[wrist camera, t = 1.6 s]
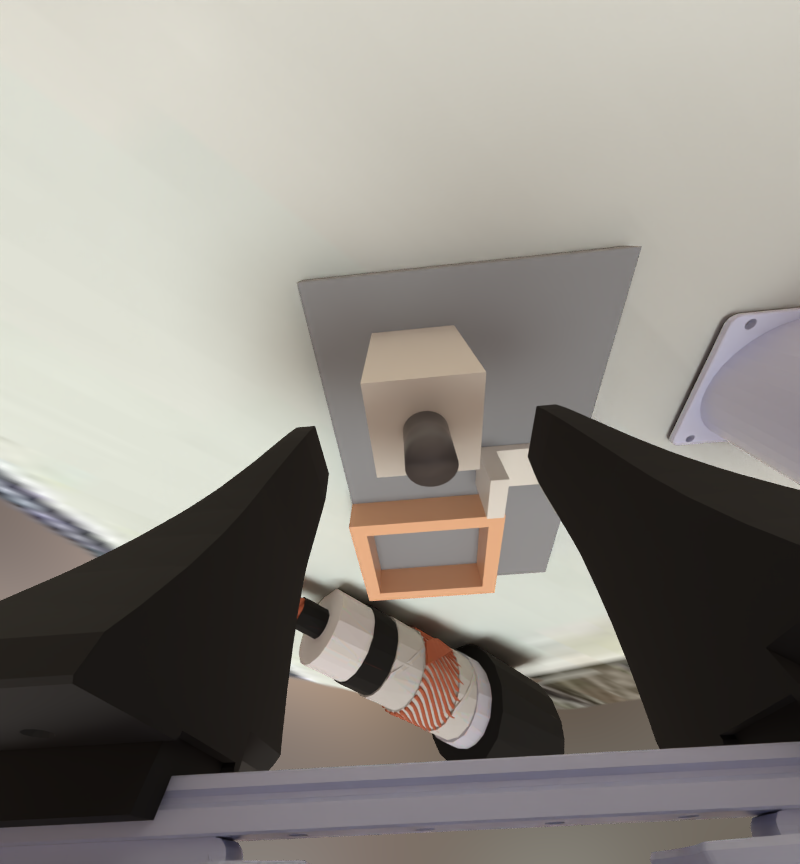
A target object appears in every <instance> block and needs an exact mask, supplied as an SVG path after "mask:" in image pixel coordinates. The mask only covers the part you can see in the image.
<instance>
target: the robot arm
mask: <svg viewBox="0 0 800 864" xmlns="http://www.w3.org/2000/svg"><path fill="white" fill-rule="evenodd" d="M748 321H749V322H748ZM747 322H748V323H747ZM746 323H747V324H746ZM669 440H670V442H672V443H673V444H675V445H687V444H699V443H711V442H723V441H729V442H730V443H732V444H733V445H735V446H737V447H738V448H740V449H742V450H743V451H745V452H747V453H748V454H750V455H752V456H753V457H755V458H756V459H758V460H760V461H761V462H763V463H765V464H766V465H768V466H770V467H771V468H773V469H774V470H776V471H778V472H779V473H781V474H783V475H784V476H786V477H788V478H789V479H791V480H793V481H794V482H796V483H797V484H799V485H800V308H790V309H780V310H769V311H759V312H749V313H739V314H735V315H733V316H731V317H730V318H729V319H728V320H727V321H726V322H725V323H724V325H723V327H722V329H721V331H720V334H719V336H718V338H717V340H716V342H715V344H714V346H713V348H712V350H711V352H710V354H709V356H708V358H707V360H706V363H705V365H704V367H703V369H702V371H701V373H700V375H699V377H698V379H697V381H696V383H695V385H694V387H693V390H692V392H691V394H690V396H689V398H688V400H687V402H686V404H685V406H684V408H683V410H682V412H681V414H680V416H679V419H678V421H677V423H676V425H675V427H674V429H673V431H672V433H671V435H670V438H669ZM528 459H529V462H530V464H531V467H532V469H533V472H534V474H535V476H536V479H537V481H538V483H539V485H540V486H541V488H542V490H543V492H544V493H545V495H546V497H547V498H548V500H549V502H550V503H551V505H552V507H553V508H554V510H555V512H556V513H557V515H558V517H559V518H560V520H561V521H562V523H563V525H564V526H565V528H566V530H567V531H568V533H569V535H570V536H571V538H572V540H573V541H574V543H575V545H576V547H577V549H578V550H579V552H580V554H581V556H582V558H583V560H584V562H585V565H586V567H587V569H588V571H589V573H590V575H591V577H592V579H593V582H594V584H595V586H596V588H597V590H598V593H599V595H600V597H601V600H602V602H603V604H604V606H605V609H606V611H607V613H608V616H609V618H610V620H611V622H612V625H613V627H614V630H615V632H616V635H617V637H618V640H619V642H620V645H621V647H622V650H623V652H624V655H625V657H626V660H627V662H628V665H629V667H630V670H631V673H632V675H633V678H634V681H635V683H636V686H637V689H638V692H639V694H640V697H641V700H642V702H643V705H644V708H645V711H646V713H647V716H648V719H649V722H650V725H651V728H652V731H653V734H654V736H655V739H656V742H657V744H658V746H659V748H660V749H654V750H637V751H618V752H600V753H581V754H563V755H545V756H526V757H508V758H490V759H472V760H453V761H435V762H418V763H399V764H382V765H381V764H380V765H362V766H344V767H326V768H308V769H289V770H271V771H269V769H270V768H271V767H272V766H273V765H274V764H275V762H276V761H277V759H278V758H279V756H280V755H281V743H282V733H283V724H284V715H285V706H286V696H287V687H288V680H289V672H290V664H291V657H292V649H293V642H294V636H295V629H296V623H297V616H298V610H299V604H300V598H301V593H302V587H303V581H304V576H305V571H306V567H307V563H308V559H309V556H310V552H311V549H312V545H313V542H314V538H315V535H316V531H317V528H318V524H319V521H320V517H321V514H322V510H323V506H324V503H325V498H326V492H327V484H328V476H329V473H328V469H327V466H326V462H325V459H324V455H323V452H322V449H321V445H320V442H319V438H318V435H317V431H316V428H315V426H310V427H299V428H296V429H294V430H293V431H291V432H290V433H289V434H287V435H286V436H285V437H284V438H282V439H281V440H280V441H279V442H278V443H276V444H275V445H274V446H273V447H271V448H270V449H269V450H268V451H267V452H265V453H264V454H263V455H262V456H261V457H259V458H258V459H257V460H256V461H254V462H253V463H252V464H251V465H249V466H248V467H247V468H245V469H244V470H243V471H241V472H240V473H239V474H237V475H236V476H235V477H233V478H232V479H231V480H230V481H228V482H227V483H226V484H224V485H223V486H221V487H220V488H219V489H217V490H216V491H214V492H213V493H211V494H210V495H208V496H207V497H205V498H204V499H202V500H201V501H199V502H197V503H196V504H194V505H193V506H191V507H190V508H188V509H186V510H185V511H183V512H182V513H180V514H178V515H176V516H175V517H173V518H171V519H169V520H167V521H166V522H164V523H162V524H160V525H159V526H157V527H155V528H153V529H151V530H150V531H148V532H146V533H144V534H143V535H141V536H139V537H137V538H135V539H133V540H131V541H129V542H127V543H126V544H124V545H122V546H120V547H118V548H116V549H114V550H112V551H110V552H108V553H106V554H104V555H101V556H99V557H97V558H95V559H93V560H91V561H89V562H87V563H85V564H83V565H81V566H79V567H76V568H74V569H72V570H70V571H68V572H65V573H63V574H61V575H59V576H56V577H54V578H52V579H50V580H47V581H45V582H43V583H40V584H38V585H36V586H33V587H31V588H29V589H26V590H24V591H22V592H19V593H17V594H15V595H13V596H10V597H8V598H6V599H4V600H1V601H0V864H308V863H307V862H306V861H305V860H290V861H289V860H285V861H282V860H278V861H277V860H275V861H273V860H269V861H243V853H242V849H241V847H240V845H239V843H238V842H235V841H253V840H275V839H295V838H317V837H337V836H358V835H380V834H401V833H421V832H443V831H464V830H484V829H485V830H486V829H507V828H527V827H548V826H568V825H591V824H609V823H610V824H612V823H630V822H631V823H633V822H654V821H675V820H696V819H717V818H737V817H754V818H752V822H751V832H752V836H753V837H752V838H741V839H728V840H716V841H706V842H702V843H699V844H697V845H694V846H689V847H685V848H679V849H672V850H665V851H659V852H652V853H651V858H650V861H651V863H652V864H800V490H798V489H793V488H789V487H785V486H782V485H778V484H774V483H770V482H767V481H763V480H759V479H756V478H752V477H748V476H745V475H741V474H738V473H734V472H731V471H728V470H724V469H721V468H718V467H715V466H712V465H708V464H705V463H702V462H699V461H696V460H693V459H690V458H687V457H684V456H681V455H679V454H676V453H673V452H670V451H668V450H665V449H662V448H660V447H657V446H655V445H652V444H650V443H647V442H644V441H642V440H639V439H637V438H635V437H632V436H630V435H628V434H625V433H623V432H621V431H618V430H616V429H614V428H611V427H609V426H607V425H605V424H602V423H600V422H598V421H596V420H593V419H591V418H589V417H587V416H585V415H582V414H580V413H578V412H575V411H573V410H571V409H568V408H566V407H563V406H560V405H557V404H553V405H542V406H536V412H535V417H534V423H533V429H532V434H531V440H530V446H529V451H528Z"/></svg>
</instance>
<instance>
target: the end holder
mask: <svg viewBox="0 0 800 864" xmlns="http://www.w3.org/2000/svg"><path fill="white" fill-rule="evenodd" d="M505 517H506V515H505V516H504V518H493V519H487V517H486V514H485V511H484V508H483V505H482V502H481V499H480V496H479V494H474V495H461V496H449V497H436V498H424V499H411V500H398V501H386V502H373V503H360V504H353V505H352V511H351V518H350V524H349V529H350V532H351V536H352V540H353V543H354V547H355V550H356V554H357V558H358V561H359V565H360V568H361V572H362V576H363V579H364V583H365V586H366V590H367V594H368V597H369V601H379V600H393V599H408V598H423V597H437V596H452V595H467V594H482V593H494V592H495V585H496V578H497V571H498V564H499V558H500V551H501V544H502V537H503V531H504V524H505ZM469 528H479V538H478V550H477V563H471V564H457V565H443V566H429V567H415V568H401V569H387V570H381V567H380V562H379V557H378V553H377V548H376V544H375V539H374V536H376V535H389V534H403V533H416V532H429V531H442V530H456V529H469Z"/></svg>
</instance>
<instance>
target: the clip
mask: <svg viewBox="0 0 800 864" xmlns="http://www.w3.org/2000/svg"><path fill="white" fill-rule="evenodd" d="M529 446H530V443H527V444H516V445H504V446H492V447H481V456H480V469H478V470H476V481H475V484H476V487H477V490H478V493H479V496H480V499H481V502H482V505H483V508H484V511H485V514H486V517H487V519H493V518H504V516H505V509H506V502H507V495H508V488H509V486H520V485H533V484H539V483H538V481H537V479H536V476H535V474H534V472H533V469H532V467H531V464H530V462H529V459H528V451H529ZM540 487H541V486H540ZM541 489H542V488H541ZM542 491H543V490H542ZM544 494H545V493H544ZM545 496H546V495H545ZM547 499H548V498H547ZM548 501H549V500H548ZM550 504H551V503H550ZM551 506H552V505H551ZM552 508H553V507H552ZM553 509H554V508H553ZM554 511H555V510H554ZM555 513H556V512H555ZM556 514H557V513H556Z"/></svg>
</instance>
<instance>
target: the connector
mask: <svg viewBox="0 0 800 864" xmlns="http://www.w3.org/2000/svg"><path fill="white" fill-rule="evenodd" d="M360 384H361V390H362V396H363V401H364V407H365V413H366V418H367V424H368V430H369V435H370V441H371V447H372V452H373V458H374V464H375V469H376V475H377V478H381V477H393V476H405V475H407V476H408V478H409V479H410V480H411V481H412V482H414V483H416V484H418V485H420V486H425V487H435V486H440V485H443V484H445V483H447V482H448V481H450V480H451V479H452V478H453V477H454V476H455V475H456V473H457V471H466V470H478V469H480V456H481V442H482V427H483V413H484V399H485V384H486V371H485V369H484V368H483V366H482V365H481V364H480V362H479V361H478V359H477V358H476V356H475V355H474V353H473V352H472V350H471V349H470V348H469V346H468V345H467V343H466V342H465V340H464V339H463V337H462V336H461V335H460V333H459V332H458V330H457V329H456V327H455V326H454V325H450V326H440V327H430V328H420V329H410V330H399V331H389V332H379V333H372V334H371V339H370V343H369V348H368V352H367V356H366V361H365V365H364V370H363V374H362V379H361V383H360Z"/></svg>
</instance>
